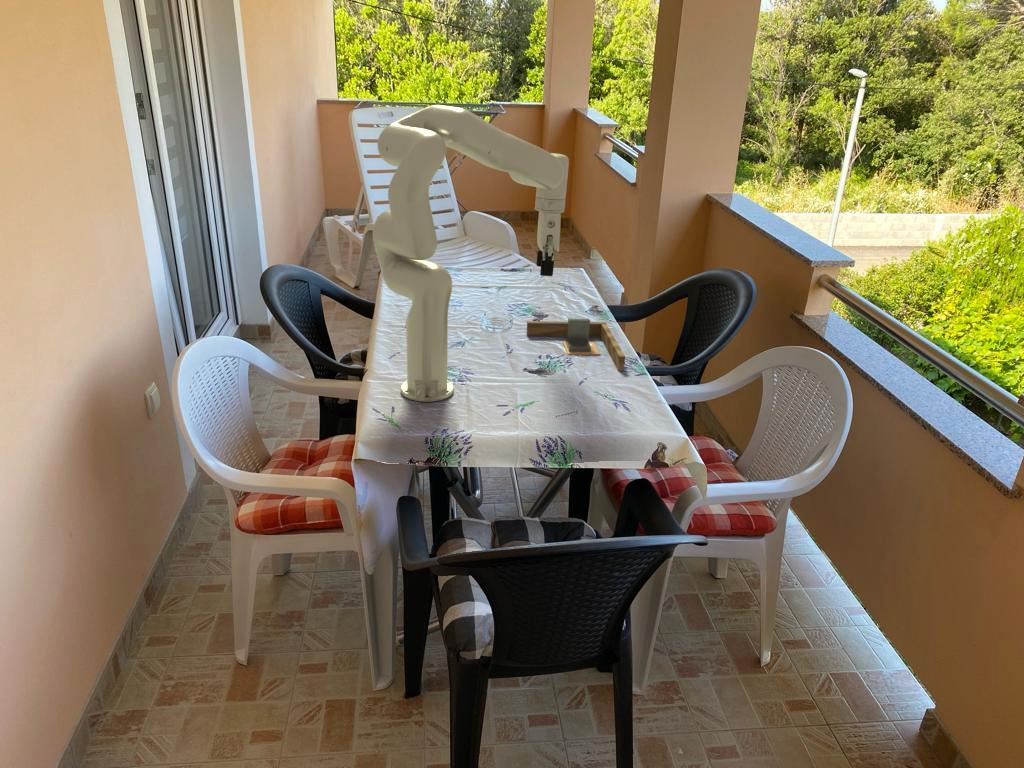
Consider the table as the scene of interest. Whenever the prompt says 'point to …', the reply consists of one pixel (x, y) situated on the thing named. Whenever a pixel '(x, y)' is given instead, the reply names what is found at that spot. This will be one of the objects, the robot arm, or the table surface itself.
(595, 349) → the pad
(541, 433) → the table surface
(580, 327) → the bracket
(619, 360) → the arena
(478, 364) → the table surface
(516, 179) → the robot arm
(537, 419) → the table surface
